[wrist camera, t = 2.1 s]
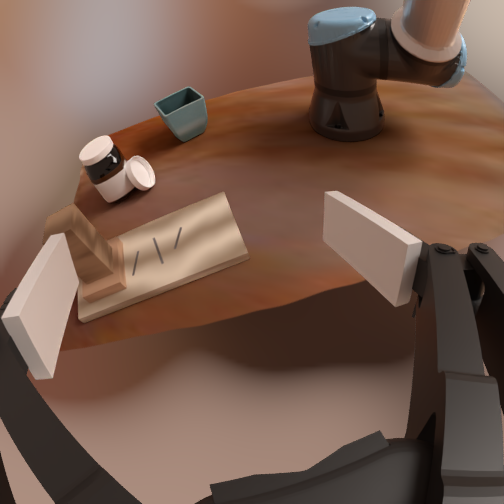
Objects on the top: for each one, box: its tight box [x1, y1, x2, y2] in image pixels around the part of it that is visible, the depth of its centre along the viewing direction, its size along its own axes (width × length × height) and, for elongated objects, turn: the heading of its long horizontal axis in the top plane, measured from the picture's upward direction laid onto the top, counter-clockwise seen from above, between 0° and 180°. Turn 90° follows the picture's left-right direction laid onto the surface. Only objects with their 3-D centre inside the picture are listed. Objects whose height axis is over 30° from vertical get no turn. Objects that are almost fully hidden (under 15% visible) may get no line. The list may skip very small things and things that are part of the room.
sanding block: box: [43, 203, 127, 303], centre depth 43 cm, size 9×7×13 cm
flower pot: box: [154, 86, 207, 142], centre depth 63 cm, size 9×9×9 cm
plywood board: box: [78, 192, 250, 323], centre depth 49 cm, size 13×28×2 cm, turn 108°
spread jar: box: [79, 136, 155, 203], centre depth 56 cm, size 12×11×12 cm
